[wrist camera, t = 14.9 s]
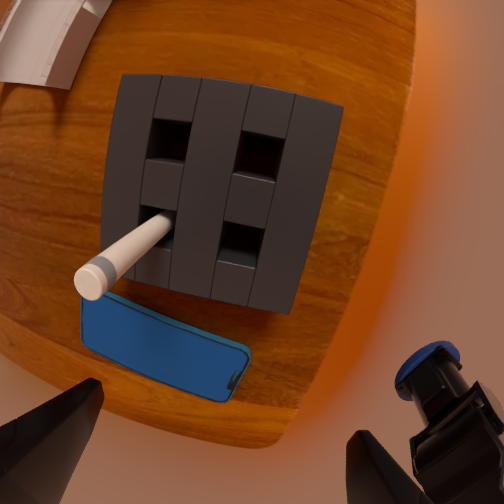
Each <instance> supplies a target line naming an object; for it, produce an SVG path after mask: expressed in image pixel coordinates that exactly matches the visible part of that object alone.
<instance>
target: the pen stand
mask: <svg viewBox="0 0 504 504" xmlns="http://www.w3.org/2000/svg"><path fill="white" fill-rule="evenodd" d="M343 109H344V107H343V106H340V105H337V104H334V103H331V102H327V101H324V100H320V99H317V98H313V97H309V96H305V95H302V94H298V93H293V92H289V91H285V90H280V89H276V88H271V87H266V86H261V85H255V84H252V85H251V84H249V83H243V82H237V81H230V80H223V79H215V78H206V77H204V78H202V77H194V76H182V75H162V74H123V75H122V78H121V82H120V86H119V90H118V95H117V99H116V104H115V109H114V114H113V119H112V125H111V130H110V137H109V143H108V150H107V157H106V166H105V175H104V185H103V198H102V214H101V253H102V252H103V251H104V250H106V249H107V248H109V247H110V246H111V245H113V244H114V243H116V242H117V241H119V240H120V239H121V238H123V237H124V236H126V235H127V234H129V233H130V232H132V231H133V230H135V229H136V228H138V227H139V226H140V225H142V224H143V223H145V222H147V221H148V220H150V219H151V218H153V217H154V216H156V215H157V214H159V213H160V212H161V208H162V209H167V210H172V211H177V217H176V225H175V228H172V229H171V230H170V231H169V232H168V233H166V234H165V235H164V236H163V237H162V238H161V239H160V240H159V241H158V242H157V243H156V244H154V245H153V246H152V247H151V248H150V249H149V250H148V251H147V252H146V253H145V254H144V255H143V256H142V257H141V258H140V259H138V260H137V261H136V262H135V263H134V264H133V265H132V266H131V267H130V268H129V269H128V270H127V271H126V272H125V273H124V274H123V275H122V276H121V277H122V278H126V279H130V280H135V281H138V282H141V283H145V284H149V285H153V286H157V287H161V288H165V289H169V290H173V291H177V292H182V293H186V294H190V295H195V296H199V297H204V298H208V299H209V298H210V299H213V300H218V301H222V302H227V303H232V304H237V305H242V306H247V307H251V308H256V309H261V310H266V311H272V312H277V313H282V314H288V315H289V313H290V310H291V307H292V304H293V301H294V297H295V294H296V291H297V288H298V285H299V281H300V278H301V275H302V271H303V268H304V265H305V261H306V258H307V254H308V251H309V247H310V244H311V240H312V237H313V233H314V230H315V226H316V222H317V219H318V215H319V211H320V207H321V203H322V200H323V196H324V192H325V188H326V184H327V180H328V176H329V172H330V168H331V163H332V159H333V155H334V151H335V146H336V142H337V137H338V133H339V128H340V124H341V119H342V114H343ZM175 124H177V125H186V126H192V128H191V133H190V138H189V143H188V148H187V154H186V159H181V158H174V157H169V151H170V146H171V140H172V135H173V130H174V125H175ZM246 135H248V136H253V137H258V138H263V139H268V140H272V141H277V142H281V144H280V148H279V153H278V157H277V162H276V166H275V171H274V175H273V176H272V175H267V174H263V173H258V172H253V171H248V170H243V169H239V166H240V161H241V157H242V152H243V147H244V143H245V138H246ZM228 222H233V223H237V224H242V225H247V226H252V227H257V228H261V233H260V237H259V242H258V246H257V245H255V244H250V243H246V242H241V241H236V240H231V239H225V238H226V232H227V227H228Z"/></svg>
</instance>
